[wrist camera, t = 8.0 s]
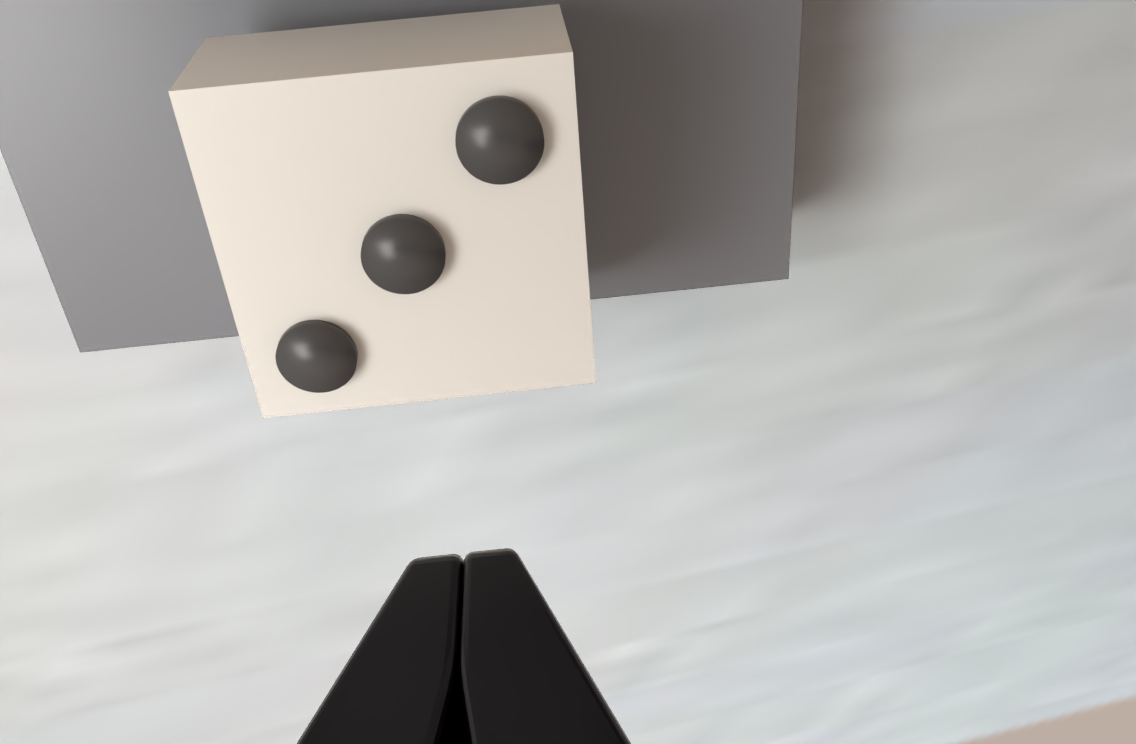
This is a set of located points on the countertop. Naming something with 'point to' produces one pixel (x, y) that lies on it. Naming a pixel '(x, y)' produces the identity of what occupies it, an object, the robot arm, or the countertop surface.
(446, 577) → the robot arm
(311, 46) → the three-dot button
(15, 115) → the button panel
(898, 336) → the countertop surface
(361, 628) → the countertop surface
